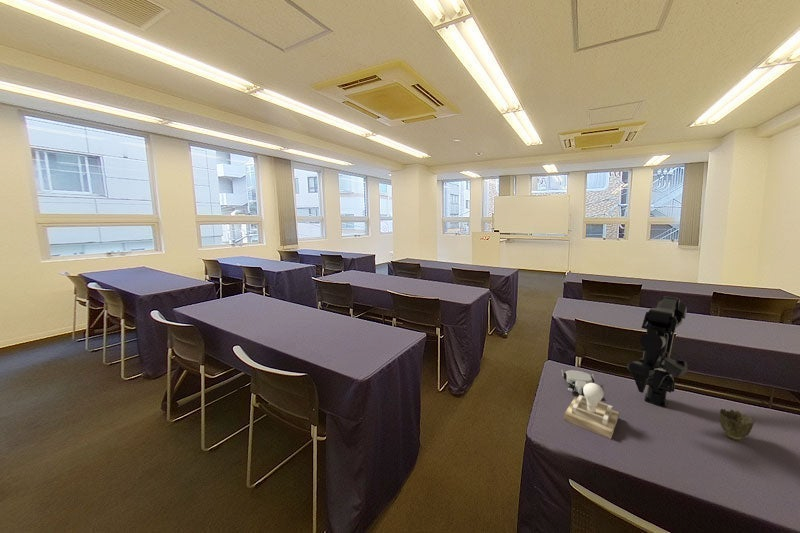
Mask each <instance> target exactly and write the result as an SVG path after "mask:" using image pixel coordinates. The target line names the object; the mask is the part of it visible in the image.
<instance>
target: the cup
mask: <svg viewBox="0 0 800 533" xmlns="http://www.w3.org/2000/svg"><path fill="white" fill-rule="evenodd" d="M719 422H720V426H721V429H722V430H724V435H725V436H726V437H727V438H729V439H731V440H733V441H737V442H738V441H741V440H742V438H746V437H748V436H749V435H750V433H751V432H752V431H751V430H752V428H753V426H754V423H755V420H754V419H753V418H751V416H747V415H746V413H742V412H740V411H739V410H734V409H730V410H726V408H721V409H720V410H719Z"/></svg>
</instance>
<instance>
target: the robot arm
mask: <svg viewBox="0 0 800 533" xmlns="http://www.w3.org/2000/svg"><path fill="white" fill-rule="evenodd" d="M687 311H688V310H687V305H685V304H684V303H683V302H681V299H680V298H678V297H674V296H673V297H672V296H662V297H661V299H660V300H659V301H658V303H657V306H656V307H651V308H650V309H649V310H648V311H646V312H645V316H644V318H643V322H642V324H641V329H645V330H646V332H645V333H644V334H643V335H641V336H640V338H639V343H640V345H641V348H640V351H643V353H642V354H643V355H642V358H639V361H638V360H637V361H630V362H628V363H627V370H629V373H630V372H631V375H632V377H633V379H634V382H635V385H636V387H637V390H638V392H639V393H640V394H643V393H645V390H646V386H647V390H646V393H645V395H644V401H645V402H647V403H651V404H654V405H656V406H659V407H663V408H667V403H668V402H667V401H668V399H667V394H668V393H670V394H671V393H674V392H675V390H676V389H675V387H676V382H675V380H674V377H675V378H678V377H683V376H684V375H685V373H688V371H689V370H688V362H687V361H685V360H684V359H678V360H677V361H676V359H672V358H671V357H670V356H671V353H672V347H673V342H674V338H675V334H676V329H677V328H678V327H679V326H681V325H682V324H683V321H684V320H686V316H687Z"/></svg>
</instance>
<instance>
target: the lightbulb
mask: <svg viewBox="0 0 800 533" xmlns="http://www.w3.org/2000/svg"><path fill="white" fill-rule="evenodd" d="M583 393H584V395H583V396H585V397H586V400H587V410H588V411H589V412H592V413H595V412H596V407H597V405H598V402H601V400H602V399H603V398H604V393H605V392H604V390H603V388H602V387H601V386H600V385H599V384H598V383H596V382H594V383H588V384H586V385H585V386H584V388H583Z"/></svg>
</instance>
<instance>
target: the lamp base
mask: <svg viewBox="0 0 800 533" xmlns="http://www.w3.org/2000/svg"><path fill="white" fill-rule="evenodd" d="M613 407H614V406H613V405H611V404H607V403H605V402H602V401H599V402H598V405H597V407H596V412H595V413H592V412H589V411H588V410H587V400H586V397H585V395H583V394H578V397H576V396H574V398H573V399H572V401H571V403H570V404H569V406H568V407H567V409H566V411H565V412H564V415H563V420H564V421H565V422H567V423H570V424H572V425H575V426H577V427H580V428H582V429H585V430H588V431H590V432H592V433H595V434H597V435H599V436H602V437H605V438H607V439H609V440H611V439H612V437H613V434H614V432H615V428H616V426H617V423H618V420H619V414H620V412H619V411H617V410H614V409H613Z"/></svg>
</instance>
